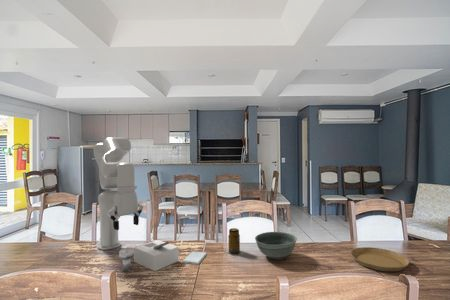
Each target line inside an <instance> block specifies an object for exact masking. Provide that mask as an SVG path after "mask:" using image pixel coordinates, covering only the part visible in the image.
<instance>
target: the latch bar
mask: <svg viewBox="0 0 450 300" xmlns="http://www.w3.org/2000/svg"><path fill="white" fill-rule="evenodd" d="M167 244H170V242H169V241H166V243H163V244H160V245H157V246H154V247H153V249H156V248H159V247H162V246H165V245H167Z"/></svg>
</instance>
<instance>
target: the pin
mask: <svg viewBox="0 0 450 300" xmlns="http://www.w3.org/2000/svg"><path fill="white" fill-rule="evenodd" d="M118 256H119V257H118V259H119V260H122V272H124V271H126V272H130V271H131V270H132V259H134V247H124V248H121V249H120V250H119V251H118ZM129 270H130V271H129Z"/></svg>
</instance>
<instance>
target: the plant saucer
mask: <svg viewBox="0 0 450 300" xmlns="http://www.w3.org/2000/svg"><path fill="white" fill-rule="evenodd" d="M350 255H351V257H352V258H353V260H354V261H355V262H356V263H358V264H360V265H361V266H363V267H365V268H368V269H371V270H375V271H379V272H380V271H381V272H389V273H390V272H392V273H393V272H399V271H403V270H404V269H406V268H407V267H408V266H409V265H410V260H409V259H408V257H406V256H404V255H403V254H400V253H398V252H395V251H392V250H390V249H389V250H388V249H384V248H379V247H370V246H368V247H367V246H366V247H363V246H362V247H356V248H353V249H352V250H351V251H350Z"/></svg>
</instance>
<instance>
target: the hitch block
mask: <svg viewBox="0 0 450 300" xmlns="http://www.w3.org/2000/svg"><path fill="white" fill-rule="evenodd" d="M166 242H167V241H166ZM166 242H165V241H162V240H160V239H155V240H153V241H150V242H145V243H143V244H140V245H137V246H134V247H133V248H134V257H133V262H134V263H136V264H138V265H141V266H142V267H145V268H147V269H149V270H151V271H154V272H156V271H158V270H161V269H163V268H166V267H167V266H169V265H173V264H175V263H177V262H179V246H177V245H174V244H173V243H172V244H171V243H169V244H167V245H165V246H162V247H159V248H156V249H153V247H154V246H157V245H160V244H163V243H166Z"/></svg>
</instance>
